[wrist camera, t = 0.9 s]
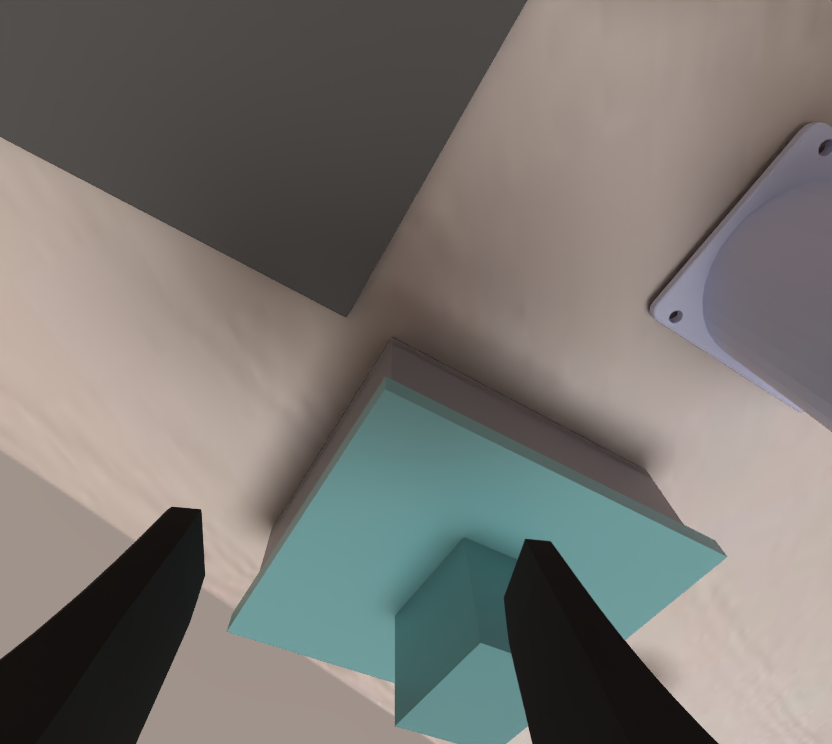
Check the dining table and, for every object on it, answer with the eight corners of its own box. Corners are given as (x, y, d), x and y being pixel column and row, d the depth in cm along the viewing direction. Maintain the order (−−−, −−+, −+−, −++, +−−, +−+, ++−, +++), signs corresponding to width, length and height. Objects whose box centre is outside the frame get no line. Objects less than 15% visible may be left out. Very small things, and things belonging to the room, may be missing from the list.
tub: (646, 470, 24) (697, 544, 20) (500, 614, 28) (518, 697, 24) (391, 337, 20) (391, 395, 16) (271, 529, 24) (248, 610, 21)
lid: (704, 525, 20) (803, 659, 15) (516, 688, 25) (545, 828, 20) (385, 364, 16) (381, 477, 11) (237, 596, 21) (190, 744, 16)
